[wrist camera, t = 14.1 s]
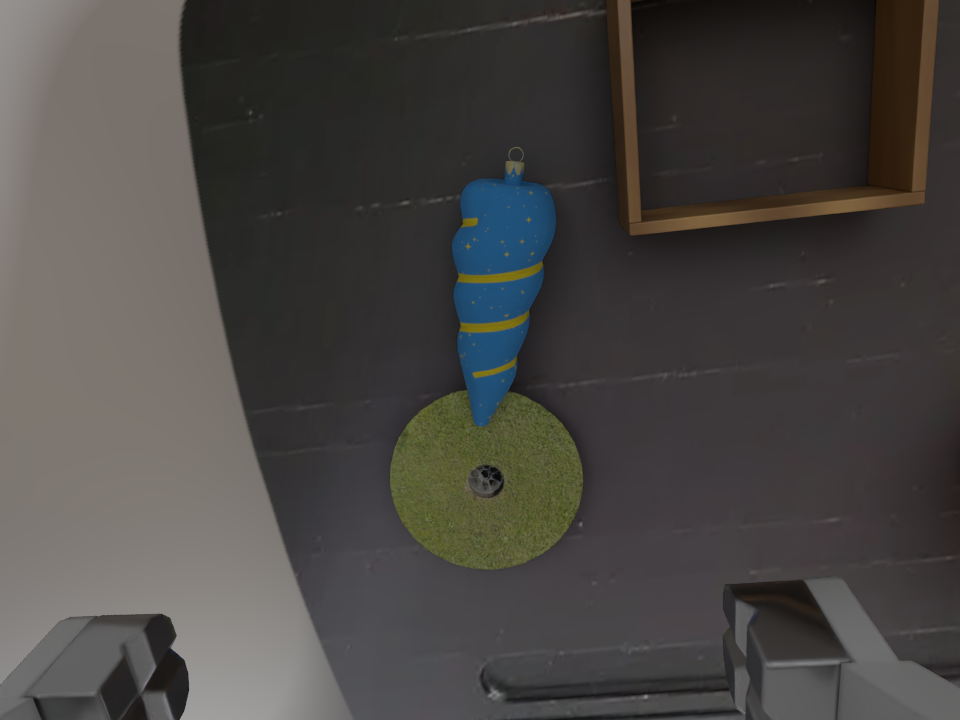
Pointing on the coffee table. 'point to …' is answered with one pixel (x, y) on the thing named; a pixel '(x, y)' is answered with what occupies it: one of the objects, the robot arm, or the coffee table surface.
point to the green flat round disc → (486, 481)
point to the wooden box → (891, 183)
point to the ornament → (498, 279)
